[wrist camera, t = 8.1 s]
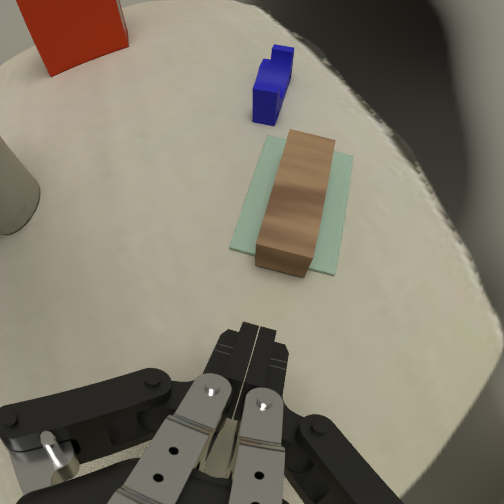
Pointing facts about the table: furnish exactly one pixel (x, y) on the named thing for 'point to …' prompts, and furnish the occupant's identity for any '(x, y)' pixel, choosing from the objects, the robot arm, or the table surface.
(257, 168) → the sage mat
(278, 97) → the blue cradle block
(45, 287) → the table surface
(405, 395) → the table surface
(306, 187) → the walnut block
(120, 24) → the file binder
